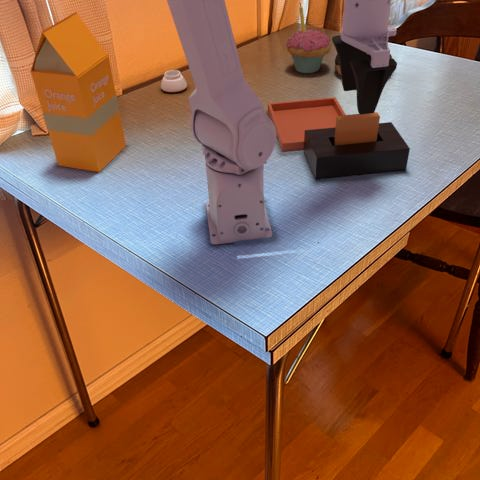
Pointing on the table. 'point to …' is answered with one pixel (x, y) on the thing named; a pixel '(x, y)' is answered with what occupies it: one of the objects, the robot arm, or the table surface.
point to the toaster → (355, 154)
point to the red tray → (302, 119)
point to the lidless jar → (173, 81)
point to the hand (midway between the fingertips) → (358, 100)
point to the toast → (356, 128)
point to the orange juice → (77, 96)
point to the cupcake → (308, 47)
